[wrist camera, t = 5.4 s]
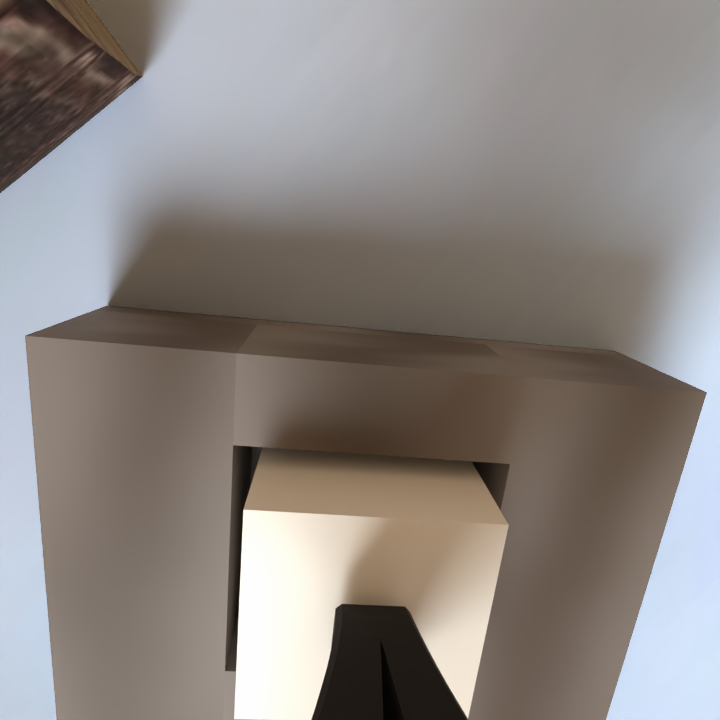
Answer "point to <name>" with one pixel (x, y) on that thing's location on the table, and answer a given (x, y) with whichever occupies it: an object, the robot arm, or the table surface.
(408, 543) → the cream key
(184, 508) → the key bed
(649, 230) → the table surface
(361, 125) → the table surface
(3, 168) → the hardback book
